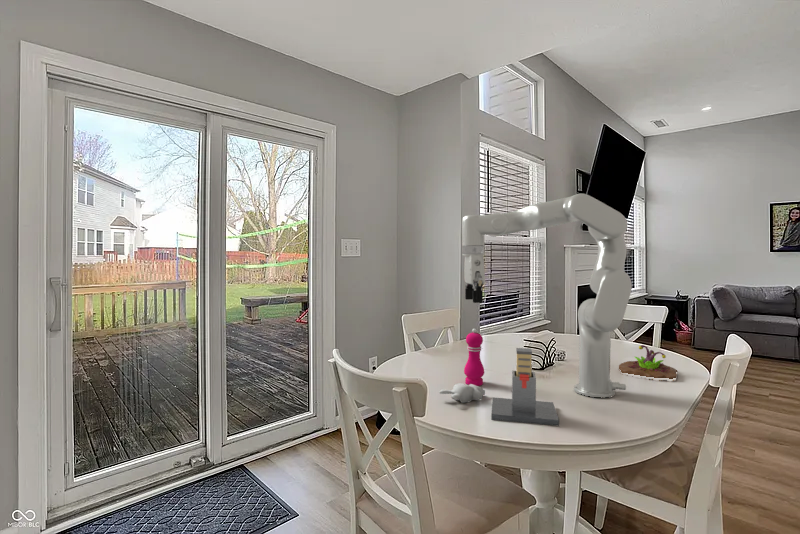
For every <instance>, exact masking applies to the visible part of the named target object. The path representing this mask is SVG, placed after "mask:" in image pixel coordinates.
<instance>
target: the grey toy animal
mask: <svg viewBox="0 0 800 534" xmlns="http://www.w3.org/2000/svg"><path fill="white" fill-rule="evenodd" d="M438 393H439V394H440V395H444V394H445V395H448V394H450V398H451V400H454V401H460V403H463V404H464V403H470V402H471V401H474V400H477V401H479V400H482V399H483V397H484V396H485V394H486V390H485V389H483V388H482V387H481V386H476V385H473V384H470V385H467V384H466V383H462V382H461V383H455V384H454V385H453V387H452V389H443V388H442V389H440V390H439V392H438Z"/></svg>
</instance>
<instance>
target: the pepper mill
mask: <svg viewBox="0 0 800 534" xmlns="http://www.w3.org/2000/svg"><path fill="white" fill-rule="evenodd" d="M483 341H484V339H483V336H482V334H481V333H479V332H478V329H477V328H472V330H471V332H469V333H468V334H467V335H466V337H465V342H466V344H467V346H466V347H467V348H466V349H467V351H468V358H467V361H466V363H465V366H464V368H463V372H464V375H465V376H466V377H465V379H464V380H465V383H464V384H465V385H467V384H468V385H470V384H473V385H476V386H478V387H481V386H482V385H484V378H483V376H484V375H485V367H484V365H483V363H482V360H481V356H480V355H481V351H482V344H483Z"/></svg>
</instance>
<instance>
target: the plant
mask: <svg viewBox="0 0 800 534" xmlns="http://www.w3.org/2000/svg"><path fill="white" fill-rule="evenodd" d="M644 348H645V350H646V355H645V356H646V357H644V356H643V355H641V356H640V357H637V356H634V358H635V359H636V360H627V361H624V362H621V363H620V364H619V365H618V370H619V369H620V370H621V371H620V370H619V371H620V373H621V372H622V373H628V374H634V375H640V376H646V377H654V378H669V379H673V378H676V377H677V376H678V375H676V372H678V369H676V368H674V367H672V366H670V365H666V364H664V359H665V358H666V357H667V355H666V354H665V353H662V352H660V351H657V352H655V351H654V350H652V349H651V350H649V349H650V348H648V346H646V345H645V344H644V345H641V344H640V345H639V346H638V349H639V350H643V349H644ZM658 354H659V355H660V354H661V357H662V359H660V360H657V361H656V357H655V356H657V355H658Z"/></svg>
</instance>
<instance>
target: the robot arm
mask: <svg viewBox="0 0 800 534" xmlns="http://www.w3.org/2000/svg"><path fill="white" fill-rule="evenodd" d="M574 222H575V223H576V222H581V223H583V224H585V225H586V226H587V229H588V233H589V235H590V236H591V237H592V238H593V239H594V240H595V242H596V245H597V254H596V260H595V263H594V266H593V270H592V274H591V276H590V279H589V287H590V289H591V291H592V292H593V293H595V294H596V297H595V298H587V299H586V300H584V301H582V303H580V305H579V307H578V311H577V320H578V321H577V322H578V330H579V331H578V332H579V334H578V335H579V344H578V345H579V347H578V350H579V351H578V352H579V354H578V355H579V356H578V383H575V384H574V386H573V391H574V392H575V393H577V394H579V395H581V394H582V395H581V396H584V395H585V396H584V397H588V396H590V397H589V398H594V397H601V398H600V399H603V398H602V397H609V398H612V397H611V396H613V395H614V394H615V393H616V392H615V390H619V391H621V390H622V391H626V390H627V386H626V384H625V383H620V382H619V381H617V382H616V381H612V380H611V347H612V346H611V344H612V343H611V342H612V340H611V339H612V338H611V332H613V331H615V330H617V329H618V328H619V327H620V326H621V324H622V322H623V319H624V317H625V315H626V314H625V313H626V311H627V306H628V304H629V301H630V297H631V294H632V285H633V284H632V280H631V277H630V275H629V274H628V273H627V272H626V271H624V267H625V262H626V258H627V252H628V251H627V249H628V248H627V244H626V240H625V238H624V236H623V235H624V234H625V233H626V231H627V229H628V221H627V219H626V217H625V215H623V214H622V213H621V212H620V211H618V210H616V209H614V208H613V207H611V206H609V205H607V204H606V203H605V202H602V201H600V200H599V199H596V198H595V197H593V196H591V195H590V194H586V193H576V194H574V195H571V196H568V197H567V196H566V197H562V198H558V199H555V200H549V201H543V202H539V203H535V204H531V205H529V206H526V207H524V208H521V209H520V208H519V209H518V210H513V211H510V212H505V213H491V214H483V215H481V214H466V215H464V216H463V217H462V219H461V228H462V229H461V234H462V235H461V237H462V238H461V240H462V242H461V244H462V247H461V249H462V253H461V254H462V255H461V256H464V264H463V265H464V267H463V269H464V271H463V272H464V273H463V277H464V282H465V284H464V287H465V289H464V293H465V294H464V295H465V297H464V298H465V300H472V302H473V303H474V304H475V303H476V304H480V303H481V304H482V303H483V295H484V294H483V293H484V292H483V285H485V283H486V273H485V259H484V256H486V255H485V248H486V247H485V236H489V237H493V238H494V237H499V236H504V235H505V236H506V235H509V234H514V233H520V232H525V231H535V230H540V229H546V228H551V227H556V226H560V225H564V224H570V223H574ZM615 395H616V394H615ZM615 395H614V396H615ZM614 396H613V397H614Z"/></svg>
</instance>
